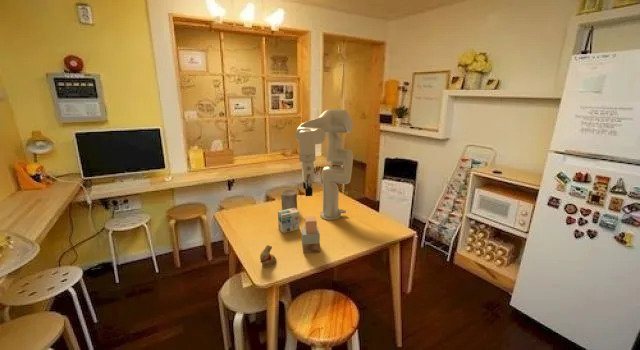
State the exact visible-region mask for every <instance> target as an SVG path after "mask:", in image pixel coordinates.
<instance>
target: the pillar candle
mask: <svg viewBox="0 0 640 350" xmlns="http://www.w3.org/2000/svg"><path fill="white" fill-rule="evenodd" d="M280 193H281V195H280V197H281V210H286V209H291V208H296V209H297V210H298V200H297V199H298V197H297V191H296V190H292V189H287V190H283V191H281V192H280Z"/></svg>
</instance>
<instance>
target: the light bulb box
mask: <svg viewBox="0 0 640 350" xmlns="http://www.w3.org/2000/svg"><path fill="white" fill-rule="evenodd" d="M277 220H278V221H277V222H278V229H279V231H280V232H281V233H282V234H284V233H288V232H290V233H291V232H294V231H297V230H300V211H299V210H298V208H297V209H296V208H291V209H286V210H282V209H281V210H278V211H277Z"/></svg>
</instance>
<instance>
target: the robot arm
mask: <svg viewBox="0 0 640 350" xmlns="http://www.w3.org/2000/svg"><path fill="white" fill-rule="evenodd" d="M353 129H354V122H353V119H352V117H351V115H350V114H349V112H348V111H347V110H345V109H337V108H336V109H335V108H334V109H331V108H330V109H329V108H328V109H326V110H324V111H323V113H321V114H320V115H319V116H318V117H316V118H314V119H310V120H306V121H305V122H302V123H301V124H300V125H299V126H298V127H297V128H296V131H295V139H296V141H297V142H298V160H299V162H301V173H302V174H301V175H302V180H303V183H302V186H303V189H304V190H305V191H304V192H305V197H313V183H315V164H314V162H316V145H320V144H322V143H324V141H325V140H326V137H327V149H326V156H325V158H326V159H325V160H326V162H327V163H328V164H329V166H328V165H327V166H324V167H322V169H321V180H322V211H321V212H320V214H319V215H320V218H321V219H323V220H327V221H335V220H338V219H340V218H341V215H342V214H347V210H345V209H344V208H341V209H340V208H339V200H340V199H339V197H340V196H339V194H340V191H339V190H340V189H339V186H338V185H337V184H342V185H348V184H349V183H350V182H351V179H352V173H353V172H352V171H353V162H354V153H353V151H352V150H351V149H346V148H345V149H344V148H343V139H342V137H341V135H340V134H350V133H351V132H353ZM326 135H327V136H326ZM330 165H337V166H330ZM341 166H343V167H341Z"/></svg>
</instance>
